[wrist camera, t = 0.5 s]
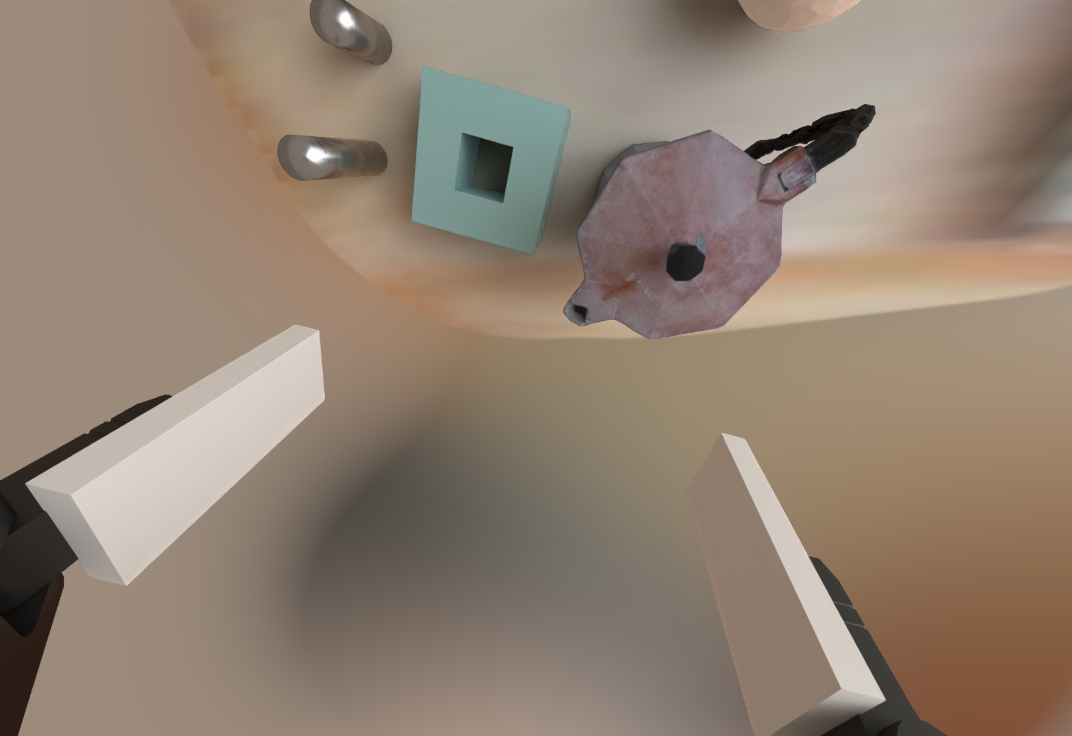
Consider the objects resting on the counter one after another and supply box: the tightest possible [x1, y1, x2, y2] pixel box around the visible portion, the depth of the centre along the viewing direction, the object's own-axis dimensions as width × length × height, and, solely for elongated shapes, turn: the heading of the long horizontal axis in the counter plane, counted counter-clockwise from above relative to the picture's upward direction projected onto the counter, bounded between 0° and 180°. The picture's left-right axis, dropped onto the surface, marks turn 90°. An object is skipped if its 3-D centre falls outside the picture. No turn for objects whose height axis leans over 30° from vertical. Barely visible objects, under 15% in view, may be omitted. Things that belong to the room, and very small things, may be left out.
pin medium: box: [277, 135, 387, 181], centre depth 29 cm, size 3×3×10 cm
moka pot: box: [564, 104, 876, 339], centre depth 23 cm, size 10×15×20 cm, turn 133°
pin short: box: [310, 0, 392, 64], centre depth 27 cm, size 3×3×6 cm
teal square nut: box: [411, 66, 571, 255], centre depth 30 cm, size 10×10×6 cm
